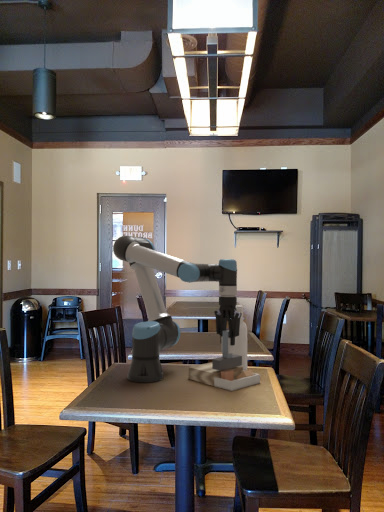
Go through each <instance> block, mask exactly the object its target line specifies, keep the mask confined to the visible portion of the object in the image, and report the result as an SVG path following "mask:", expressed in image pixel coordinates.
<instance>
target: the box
mask: <svg viewBox="0 0 384 512" xmlns="http://www.w3.org/2000/svg"><path fill="white" fill-rule="evenodd" d="M243 371H244V370H243ZM243 371H242V372H243ZM253 373H254V375H252V376H248V377H244V378H241V379H235V380H233V381H229V380H225V379H221V378H218V377H214V386H213V387H216V388H217V389H222V390H226V391H228V392H233V391H237V390H239V389H240V390H241V389H243V388H247V387H250V386H254V385H257V384H260V383H261V374H259V373H257V372H253Z"/></svg>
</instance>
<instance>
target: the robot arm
mask: <svg viewBox="0 0 384 512" xmlns="http://www.w3.org/2000/svg"><path fill="white" fill-rule="evenodd" d="M112 251H113V254H114V255H115V257H116V258H117V259H118V260H120V261H124V262H127V263H128V264H129V267H130V269H132V270H134V273H135V277H136V280H137V283H138V287H139V289H140V293H141V297H142V300H143V303H144V306H145V309H146V313H147V317H148V320H147V321H141V322H137V323H135V324H134V325H133V327H132V333H131V340H132V343H131V346H132V347H131V349H132V350H131V362H130V365H129V368H128V372H127V379H128V380H129V381H131V382H135V383H155V382H159V381H162V380H163V379H164V370H163V367H162V364H161V361H160V351H161V350H164V349H169V348H171V347H174V346H175V345H176V344H177V343H179V340H180V338H181V333H182V332H181V328H180V325H179V324H178V323H176V321H174V320H173V317H172V315H171V314H169V313H168V312H167V310H166V309H167V308H166V306H165V302H164V299H163V297H162V293H161V290H160V286H159V284H158V280H157V277H156V274H155V270H156V271H159V272H162V273H164V274H168V275H171V276H174V277H176V278H179V280H181V281H182V282H184V283H197V282H198V283H199V282H200V283H202V282H215V283H216V282H217V283H218V295H219V296H218V305H219V308H218V309H217V310H214V316H215V327H216V328H215V329H216V335H219V338H220V341H219V343H220V344H221V345H220V347H221V349H220V350H221V352H220V353H222V340H223V331H225V330H227V327H228V330H229V335H230V336H229V338H228V354H231V353H234V345H235V337H237V336H239V329H240V318H241V315H242V313H239V312H237V310H236V306H237V305H238V303H237V302H238V297H237V296H238V285H237V284H238V280H237V279H238V266H237V265H238V264H237V261H236V259H232V258H231V259H229V258H225V259H224V258H223V259H222V258H221V259H219V260H218V263H194V262H191V261H186V260H185V259H181V258H178V257H176V256H171V255H170V254H166V253H163V252H160V251H157V250H156V248H155V245H154V243H153V242H152V241H151V240H150V239H148V238H146V237H143V236H133V235H132V236H131V235H123V236H119V237H117V239H116V240H115V241H114V243H113V247H112ZM227 325H228V326H227Z"/></svg>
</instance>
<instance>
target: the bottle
mask: <svg viewBox="0 0 384 512" xmlns="http://www.w3.org/2000/svg"><path fill="white" fill-rule="evenodd" d="M236 310H237V312H239V313H242V315H241V318H240V329H239V336H237V337H235V345H234V353H233V355H234V354H235V355H240V356H242V365H241V366H242V367H243V370H244V371H246V370H248V326H247V324H246V322H245V321H244V306H243V305H239V304H237V305H236Z"/></svg>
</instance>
